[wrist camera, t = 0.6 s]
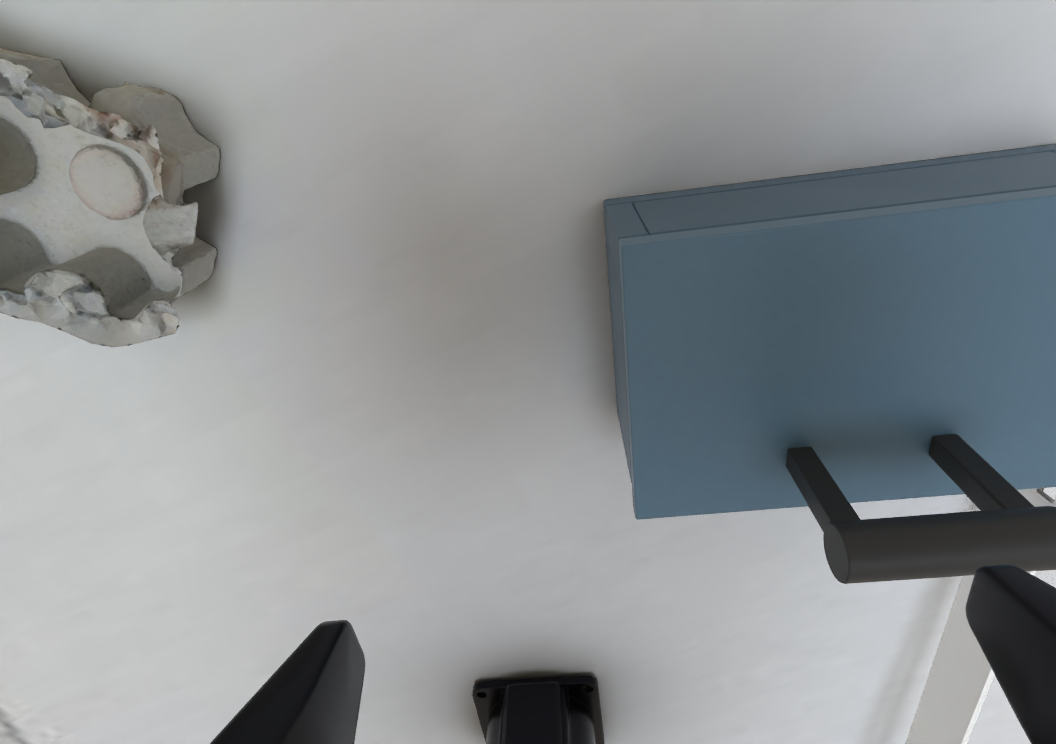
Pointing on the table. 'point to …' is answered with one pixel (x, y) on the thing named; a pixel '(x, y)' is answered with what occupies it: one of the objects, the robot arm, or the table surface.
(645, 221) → the compartment
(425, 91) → the table surface
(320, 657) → the robot arm
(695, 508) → the lid
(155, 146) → the egg carton
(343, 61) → the table surface
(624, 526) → the table surface
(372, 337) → the table surface
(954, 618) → the white guitar
